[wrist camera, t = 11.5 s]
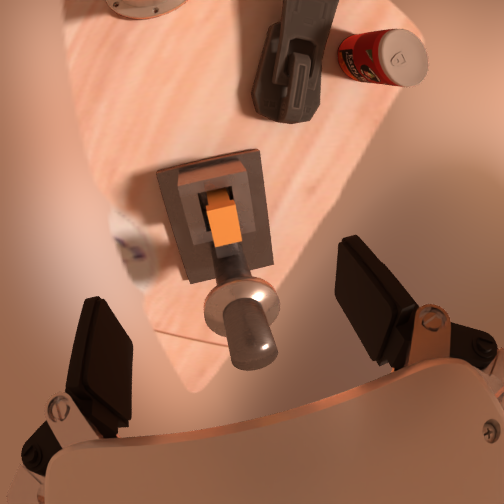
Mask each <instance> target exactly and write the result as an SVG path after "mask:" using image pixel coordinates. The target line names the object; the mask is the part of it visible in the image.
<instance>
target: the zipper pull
mask: <svg viewBox="0 0 504 504" xmlns="http://www.w3.org/2000/svg"><path fill="white" fill-rule="evenodd" d="M338 2H339V0H283V10H282V20H281V22H279V23H275V24H273V25H272V26H270V27H269V30H268V33H267V37H266V41H265V44H264V48H263V52H262V55H261V59H260V63H259V66H258V70H257V74H256V78H255V81H254V85H253V88H252V92H251V95H252V99H253V102H254V106H255V109H256V112H257V113H259V114H261V115H263V116H265V117H267V118H269V119H272V120H274V121H276V122H280V123H287V124H294V123H300V122H306V121H310V120H311V118H312V117H313V115H314V113H315V112H316V110H317V109H318V107H319V105H320V90H321V67H322V58H323V54H324V49H325V45H326V42H327V38H328V35H329V32H330V28H331V25H332V22H333V18H334V15H335V12H336V9H337V5H338Z"/></svg>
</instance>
